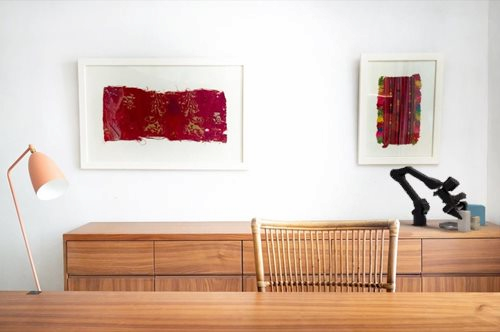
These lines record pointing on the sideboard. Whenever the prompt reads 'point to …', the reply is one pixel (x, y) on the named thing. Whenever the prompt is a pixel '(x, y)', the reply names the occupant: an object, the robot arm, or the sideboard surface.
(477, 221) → the birch block
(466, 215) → the cream block
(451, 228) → the cylinder
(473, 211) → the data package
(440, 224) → the tray
